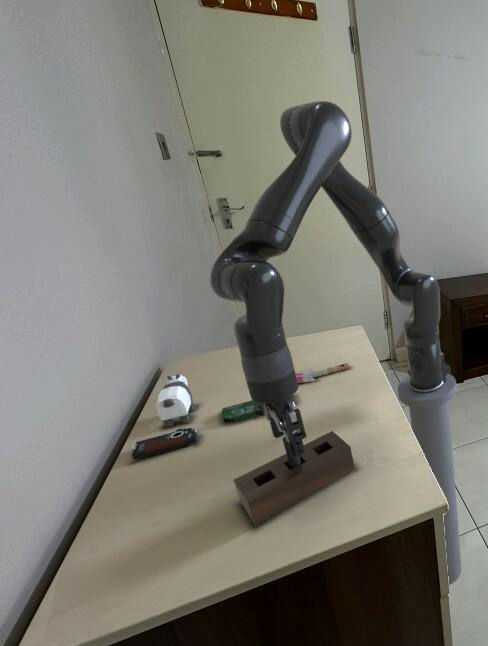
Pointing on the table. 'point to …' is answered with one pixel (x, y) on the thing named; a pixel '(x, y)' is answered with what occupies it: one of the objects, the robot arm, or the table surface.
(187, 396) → the giant panda
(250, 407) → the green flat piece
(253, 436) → the table surface
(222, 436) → the table surface
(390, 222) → the robot arm
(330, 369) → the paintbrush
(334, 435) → the pen stand
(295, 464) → the stylus
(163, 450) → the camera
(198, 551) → the table surface
